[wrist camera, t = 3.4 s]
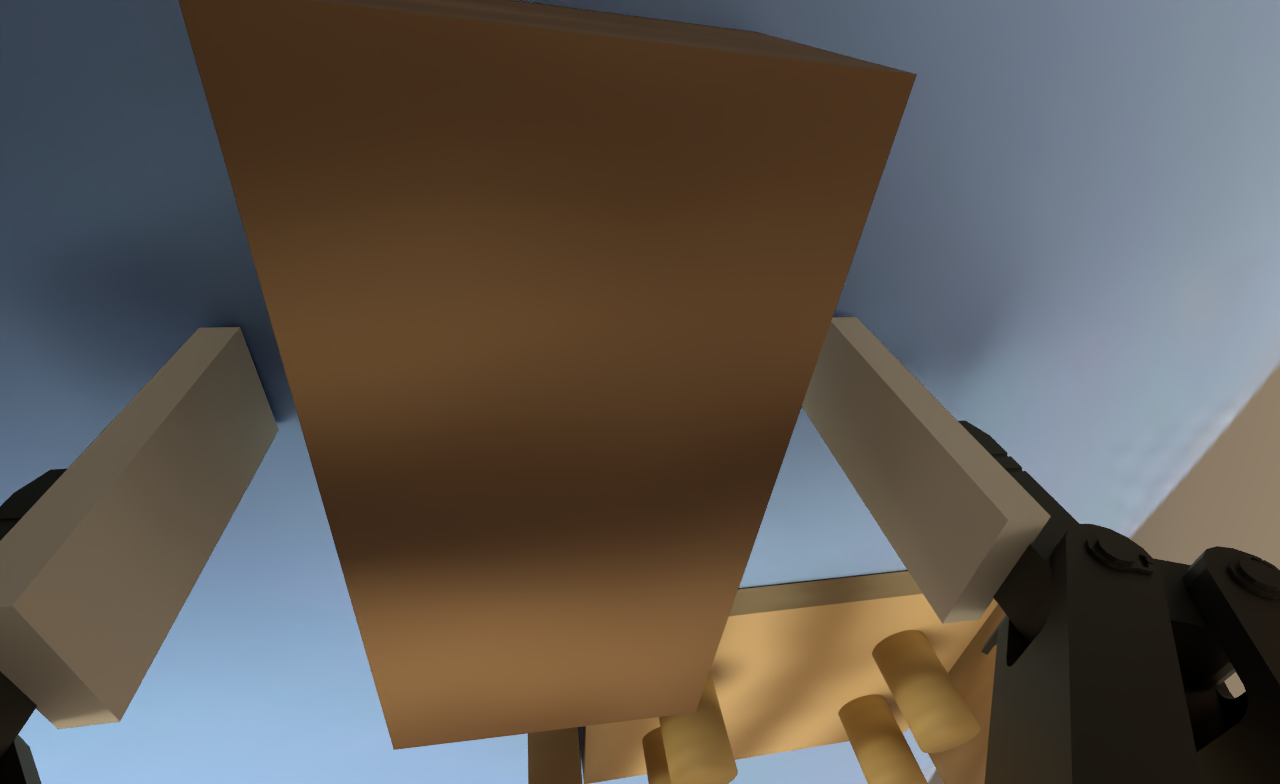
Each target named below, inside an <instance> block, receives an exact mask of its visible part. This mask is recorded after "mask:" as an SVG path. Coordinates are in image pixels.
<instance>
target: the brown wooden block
mask: <svg viewBox="0 0 1280 784" xmlns="http://www.w3.org/2000/svg"><path fill="white" fill-rule="evenodd" d="M178 1H179V4H180V8H181V11H182V15H183V18H184V22H185V25H186V28H187V32H188V35H189V39H190V42H191V46H192V49H193V53H194V56H195V60H196V63H197V67H198V70H199V74H200V77H201V81H202V84H203V88H204V91H205V95H206V98H207V101H208V105H209V108H210V112H211V115H212V119H213V122H214V126H215V129H216V133H217V136H218V140H219V143H220V147H221V150H222V154H223V157H224V161H225V164H226V168H227V171H228V175H229V178H230V181H231V185H232V188H233V192H234V195H235V199H236V202H237V206H238V209H239V213H240V216H241V220H242V223H243V227H244V230H245V234H246V237H247V241H248V244H249V248H250V251H251V254H252V258H253V261H254V265H255V268H256V272H257V275H258V279H259V282H260V286H261V289H262V293H263V296H264V300H265V303H266V307H267V310H268V314H269V317H270V321H271V324H272V328H273V331H274V334H275V338H276V341H277V345H278V348H279V352H280V355H281V359H282V362H283V366H284V369H285V373H286V376H287V380H288V383H289V387H290V390H291V394H292V397H293V401H294V404H295V407H296V411H297V414H298V418H299V421H300V425H301V428H302V432H303V435H304V439H305V442H306V446H307V449H308V453H309V456H310V460H311V463H312V467H313V470H314V474H315V477H316V481H317V484H318V487H319V491H320V494H321V498H322V501H323V505H324V508H325V512H326V515H327V519H328V522H329V526H330V529H331V533H332V536H333V540H334V543H335V547H336V550H337V554H338V557H339V560H340V564H341V567H342V571H343V574H344V578H345V581H346V585H347V588H348V592H349V595H350V599H351V602H352V606H353V609H354V613H355V616H356V620H357V623H358V627H359V630H360V634H361V637H362V640H363V644H364V647H365V651H366V654H367V658H368V661H369V665H370V668H371V672H372V675H373V679H374V682H375V686H376V689H377V693H378V696H379V700H380V703H381V707H382V710H383V713H384V717H385V720H386V724H387V727H388V731H389V734H390V738H391V741H392V745H393V748H394V750H395V749H403V748H412V747H420V746H428V745H436V744H444V743H452V742H460V741H469V740H477V739H485V738H493V737H501V736H509V735H517V734H526V733H534V732H542V731H550V730H558V729H566V728H574V727H583V726H591V725H599V724H607V723H615V722H623V721H632V720H640V719H648V718H656V717H664V716H672V715H680V714H689V713H695V712H696V710H697V707H698V704H699V701H700V698H701V695H702V692H703V689H704V686H705V684H706V681H707V678H708V675H709V672H710V669H711V666H712V663H713V660H714V658H715V655H716V652H717V649H718V646H719V643H720V640H721V637H722V635H723V632H724V629H725V626H726V623H727V620H728V617H729V614H730V611H731V609H732V606H733V603H734V600H735V597H736V594H737V591H738V588H739V586H740V583H741V580H742V577H743V574H744V571H745V568H746V565H747V562H748V560H749V557H750V554H751V551H752V548H753V545H754V542H755V539H756V537H757V534H758V531H759V528H760V525H761V522H762V519H763V516H764V513H765V511H766V508H767V505H768V502H769V499H770V496H771V493H772V490H773V487H774V485H775V482H776V479H777V476H778V473H779V470H780V467H781V464H782V462H783V459H784V456H785V453H786V450H787V447H788V444H789V441H790V438H791V436H792V433H793V430H794V427H795V424H796V421H797V418H798V415H799V413H800V410H801V407H802V404H803V401H804V398H805V395H806V392H807V389H808V387H809V384H810V381H811V378H812V375H813V372H814V369H815V366H816V364H817V361H818V358H819V355H820V352H821V349H822V346H823V343H824V340H825V338H826V335H827V332H828V329H829V326H830V323H831V320H832V317H833V314H834V312H835V309H836V306H837V303H838V300H839V297H840V294H841V291H842V289H843V286H844V283H845V280H846V277H847V274H848V271H849V268H850V265H851V263H852V260H853V257H854V254H855V251H856V248H857V245H858V242H859V240H860V237H861V234H862V231H863V228H864V225H865V222H866V219H867V216H868V214H869V211H870V208H871V205H872V202H873V199H874V196H875V193H876V191H877V188H878V185H879V182H880V179H881V176H882V173H883V170H884V167H885V165H886V162H887V159H888V156H889V153H890V150H891V147H892V144H893V141H894V139H895V136H896V133H897V130H898V127H899V124H900V121H901V118H902V116H903V113H904V110H905V107H906V104H907V101H908V98H909V95H910V92H911V90H912V87H913V84H914V81H915V78H916V74H913V73H909V72H905V71H901V70H897V69H894V68H890V67H886V66H882V65H879V64H875V63H871V62H867V61H864V60H860V59H856V58H852V57H848V56H845V55H841V54H837V53H833V52H830V51H826V50H822V49H818V48H815V47H811V46H807V45H803V44H799V43H796V42H792V41H788V40H784V39H781V38H777V37H773V36H769V35H766V34H762V33H758V32H752V31H744V30H737V29H729V28H721V27H714V26H706V25H698V24H691V23H683V22H675V21H668V20H660V19H652V18H645V17H637V16H630V15H622V14H614V13H607V12H599V11H591V10H584V9H576V8H568V7H561V6H553V5H545V4H538V3H530V2H522V1H515V0H178Z"/></svg>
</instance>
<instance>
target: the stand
mask: <svg viewBox="0 0 1280 784" xmlns="http://www.w3.org/2000/svg"><path fill="white" fill-rule="evenodd" d="M1005 615H1006V614H1005V612H1004V611H1003V610H1002V608H1001V607H1000V606H999V604H998V603H997V602H996V600H995V599H993V601H992V602H991V604H990V605H989V606H988V608H987V609H986V611H985V612H984V614H983V615H982V616H981V618H980V619H979V620H970V621H962V622H954V623H945V624H942V622H941V621H940V619H939V618H938V616H937V615H936V613H935V612H934V610H933V609H932V607H931V605H930V604H929V602H928V601H927V599H926V598H925V596H924V595H923V593H922V592H921V590H920V588H919V587H918V585H917V584H916V582H915V581H914V579H913V578H912V576H911V575H910V573H909V571H903V572H894V573H885V574H876V575H866V576H857V577H848V578H839V579H829V580H820V581H811V582H802V583H793V584H783V585H774V586H765V587H756V588H746V589H738V591H737V594H736V597H735V600H734V603H733V606H732V609H731V611H730V614H729V617H728V620H727V623H726V626H725V629H724V632H723V635H722V637H721V640H720V643H719V646H718V649H717V652H716V655H715V658H714V660H713V663H712V666H711V669H710V672H709V675H708V678H707V681H706V684H705V686H704V689H703V692H702V695H701V698H700V701H699V704H698V707H697V710H696V712H695V713H689V714H680V715H672V716H664V717H656V718H648V719H640V720H632V721H623V722H615V723H607V724H599V725H591V726H583V745H582V765H583V777H584V784H589V783H595V782H601V781H607V780H613V779H619V778H626V777H632V776H638V775H644V774H647V775H648V781H649V784H728V783H729V782H731V781H732V780H733V779H734V778H735V777H736V776H737V773H738V771H737V767H736V763H735V760H736V759H742V758H748V757H754V756H760V755H766V754H773V753H779V752H785V751H791V750H797V749H803V748H809V747H815V746H822V745H828V744H834V743H840V742H846V741H850V743H851V745H852V748H853V750H854V752H855V754H856V757H857V759H858V761H859V764H860V766H861V768H862V771H863V773H864V775H865V778H866V780H867V782H868V784H928V783H927V781H926V779H925V777H924V775H923V773H922V771H921V769H920V767H919V765H918V763H917V761H916V759H915V757H914V755H913V753H912V751H911V749H910V747H909V745H908V744H907V742H906V740H905V738H904V736H903V734H902V732H906V730H907V729H908V727H909V728H910V730H911V732H912V734H913V736H914V738H915V740H916V741H917V743H918V745H919V747H920V749H921V751H923V752H925V753H928V754H929V756H930V758H931V760H932V761H933V763H934V765H935V767H936V769H937V771H938V773H939V775H940V777H941V779H942V781H943V782H944V784H984V783H985V772H986V761H987V750H988V738H989V727H990V716H991V705H992V694H993V682H994V671H995V660H996V649H997V645H996V646H994V647H993V648H992V650H991V651H990V652H989V654H988V655H986V654H984V653H982V652H981V650H982V648H983V646H984V644H985V642H986V641H987V639H988V638H989V637H990V635H991V634H992V633H993V631H994V630H995V629H996V627H997V626H998V624H999V623H1000V622H1001V620H1002V619H1003V618H1004V616H1005ZM528 778H529V784H582V775H581V762H580V749H579V736H578V727H574V728H566V729H558V730H550V731H542V732H534V733H528Z"/></svg>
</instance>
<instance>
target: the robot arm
mask: <svg viewBox="0 0 1280 784" xmlns="http://www.w3.org/2000/svg"><path fill="white" fill-rule="evenodd" d="M802 408H803V409H804V411H805V412H806V414H807V415H808V417H809V418H810V420H811V421H812V423H813V425H814V426H815V428H816V429H817V431H818V432H819V434H820V435H821V437H822V438H823V440H824V442H825V443H826V445H827V446H828V448H829V449H830V451H831V452H832V454H833V455H834V457H835V459H836V460H837V462H838V463H839V465H840V466H841V468H842V469H843V471H844V472H845V474H846V476H847V477H848V479H849V480H850V482H851V483H852V485H853V486H854V488H855V489H856V491H857V493H858V494H859V496H860V497H861V499H862V500H863V502H864V503H865V505H866V507H867V508H868V510H869V511H870V513H871V514H872V516H873V517H874V519H875V520H876V522H877V524H878V525H879V527H880V528H881V530H882V531H883V533H884V534H885V536H886V537H887V539H888V541H889V542H890V544H891V545H892V547H893V548H894V550H895V551H896V553H897V554H898V556H899V558H900V559H901V561H902V562H903V564H904V565H905V567H906V568H907V570H908V571H909V573H910V575H911V576H912V578H913V579H914V581H915V582H916V584H917V585H918V587H919V588H920V590H921V592H922V593H923V595H924V596H925V598H926V599H927V601H928V602H929V604H930V605H931V607H932V609H933V610H934V612H935V613H936V615H937V616H938V618H939V619H940V621H941V622H942V624H945V623H954V622H962V621H970V620H979V619H980V618H981V616H982V615H983V614H984V612H985V611H986V609H987V608H988V606H989V605H990V604H991V602H992V601H993V599H995V600H996V602H997V603H998V604H999V606H1000V607H1001V608H1002V610H1003V611H1004V612H1005V614H1006V615H1005V616H1004V618H1003V619H1002V620H1001V622H1000V623H999V624H998V626H997V627H996V629H995V630H994V631H993V633H992V634H991V635H990V637H989V638H988V639H987V641H986V642H985V644H984V646H983V648H982V650H981V652H982V653H984V654H986V655H988V654H989V652H990V651H991V650H992V648H993V647H994V646H996V645H997V649H996V660H995V671H994V682H993V694H992V705H991V716H990V727H989V738H988V750H987V761H986V772H985V783H984V784H1280V570H1278V569H1277V568H1276V567H1275V566H1274V565H1272V564H1270V563H1269V562H1267V561H1265V560H1264V561H1263V560H1262V559H1261V558H1258V557H1256V556H1254V555H1251V554H1248V553H1245V552H1242V551H1239V550H1236V549H1233V548H1226V547H1213V548H1210V549H1206V550H1205V551H1204V552H1203V553H1202V555H1200V556H1199V558H1198V559H1197V560H1196V561H1195V562H1194V563H1193V564H1192V565H1186V564H1180V563H1175V562H1169V561H1164V560H1158V559H1153V558H1152V557H1151V556H1150V555H1149V554H1148V553H1147V552H1146V551H1145V550H1144V549H1143V548H1142V547H1140V546H1139V545H1137V544H1136V543H1135V542H1133V541H1132V540H1130V539H1129V538H1127V537H1125V536H1123V535H1121V534H1119V533H1117V532H1115V531H1113V530H1111V529H1108V528H1104V527H1101V526H1097V525H1093V524H1079V523H1078V522H1077V521H1076V520H1075V519H1074V518H1073V517H1072V516H1071V515H1070V514H1069V513H1068V512H1067V511H1066V510H1065V509H1064V508H1063V507H1062V506H1061V505H1060V504H1059V503H1058V502H1057V501H1056V500H1055V499H1054V498H1053V497H1052V496H1051V495H1050V494H1048V493H1047V492H1046V491H1045V490H1044V489H1043V488H1042V487H1041V486H1040V485H1039V484H1038V483H1037V482H1036V481H1035V480H1034V479H1033V478H1032V477H1031V476H1030V475H1029V474H1028V473H1027V472H1026V471H1022V467H1021V466H1020V465H1019V464H1018V463H1017V462H1016V461H1015V460H1014V459H1013V458H1012V457H1008V456H1007V452H1006V451H1005V450H1004V449H1003V448H1002V447H1001V446H1000V445H999V444H998V443H997V442H996V441H995V440H994V439H993V438H992V437H991V436H990V435H988V434H986V433H985V432H983V431H981V430H980V429H978V428H977V427H975V426H973V425H972V424H970V423H968V422H967V421H957V420H956V419H955V418H954V417H953V416H952V415H951V414H950V413H949V412H948V411H947V410H946V408H945V407H944V406H943V405H942V404H941V403H940V402H939V401H938V400H937V399H936V398H935V397H934V396H933V395H932V394H931V393H930V392H929V391H928V390H927V389H926V388H925V387H924V386H923V385H922V384H921V383H920V382H919V381H918V380H917V379H916V378H915V377H914V376H913V375H912V374H911V373H910V372H909V371H908V370H907V369H906V368H905V367H904V366H903V365H902V363H901V362H900V361H899V360H898V359H897V358H896V357H895V356H894V355H893V354H892V353H891V352H890V351H889V350H888V349H887V348H886V347H885V346H884V345H883V344H882V343H881V342H880V341H879V340H878V339H877V338H876V337H875V336H874V335H873V334H872V333H871V332H870V331H869V330H868V329H867V328H866V327H865V326H864V325H863V324H862V323H861V322H860V321H859V320H858V318H857V317H832V320H831V323H830V326H829V329H828V332H827V335H826V338H825V340H824V343H823V346H822V349H821V352H820V355H819V358H818V361H817V364H816V366H815V369H814V372H813V375H812V378H811V381H810V384H809V387H808V389H807V392H806V395H805V398H804V401H803V405H802ZM278 430H279V429H278V427H277V424H276V421H275V419H274V416H273V413H272V411H271V408H270V405H269V403H268V400H267V397H266V395H265V392H264V389H263V387H262V384H261V381H260V379H259V376H258V373H257V371H256V368H255V365H254V363H253V360H252V358H251V355H250V352H249V350H248V347H247V344H246V342H245V339H244V336H243V334H242V331H241V328H240V327H214V328H198V329H197V330H196V332H195V333H194V334H193V335H192V336H191V337H190V338H189V339H188V340H187V341H186V342H185V343H184V344H183V346H182V347H181V348H180V349H179V350H178V351H177V352H176V353H175V354H174V355H173V356H172V357H171V358H170V359H169V361H168V362H167V363H166V364H165V365H164V366H163V367H162V368H161V369H160V370H159V371H158V372H157V373H156V374H155V376H154V377H153V378H152V379H151V380H150V381H149V382H148V383H147V384H146V385H145V386H144V387H143V388H142V389H141V391H140V392H139V393H138V394H137V395H136V396H135V397H134V398H133V399H132V400H131V401H130V402H129V403H128V405H127V406H126V407H125V408H124V409H123V410H122V411H121V412H120V413H119V414H118V415H117V416H116V417H115V418H114V420H113V421H112V422H111V423H110V424H109V425H108V426H107V427H106V428H105V429H104V430H103V431H102V432H101V433H100V435H99V436H98V437H97V438H96V439H95V440H94V441H93V442H92V443H91V444H90V445H89V446H88V447H87V448H86V450H85V451H84V452H83V453H82V454H81V455H80V456H79V457H78V458H77V459H76V460H75V461H74V462H73V464H72V465H71V466H70V467H69V468H68V469H54V470H50V471H48V472H46V473H45V474H43V475H42V476H40V477H38V478H37V479H35V480H34V481H32V482H31V483H29V484H27V485H26V486H24V487H23V488H21V489H19V490H18V491H16V492H15V493H13V494H12V495H11V496H10V497H9V498H8V499H7V500H6V501H5V502H4V503H3V504H2V505H1V506H0V784H41V781H40V778H39V775H38V772H37V769H36V765H35V762H34V759H33V756H32V753H31V750H30V747H29V746H28V745H27V744H26V743H25V741H24V740H23V739H22V738H21V737H20V736H19V735H18V734H19V732H20V731H21V729H22V728H23V726H24V725H25V723H26V722H27V720H28V719H29V717H30V716H31V714H32V713H33V711H34V710H35V708H36V709H37V710H38V711H39V712H40V713H41V714H42V715H44V716H45V717H46V718H47V719H48V720H49V721H50V722H51V723H52V724H53V725H54V726H55V727H56V728H57V729H62V728H71V727H79V726H88V725H96V724H104V723H113V722H120V720H121V719H122V717H123V715H124V713H125V711H126V709H127V708H128V706H129V704H130V702H131V700H132V698H133V697H134V695H135V693H136V691H137V689H138V687H139V686H140V684H141V682H142V680H143V678H144V676H145V675H146V673H147V671H148V669H149V667H150V665H151V664H152V662H153V660H154V658H155V656H156V654H157V653H158V651H159V649H160V647H161V645H162V643H163V642H164V640H165V638H166V636H167V634H168V632H169V631H170V629H171V627H172V625H173V623H174V621H175V620H176V618H177V616H178V614H179V612H180V610H181V608H182V607H183V605H184V603H185V601H186V599H187V597H188V596H189V594H190V592H191V590H192V588H193V586H194V585H195V583H196V581H197V579H198V577H199V575H200V574H201V572H202V570H203V568H204V566H205V564H206V563H207V561H208V559H209V557H210V555H211V553H212V552H213V550H214V548H215V546H216V544H217V542H218V541H219V539H220V537H221V535H222V533H223V531H224V530H225V528H226V526H227V524H228V522H229V520H230V519H231V517H232V515H233V513H234V511H235V509H236V508H237V506H238V504H239V502H240V500H241V498H242V497H243V495H244V493H245V491H246V489H247V487H248V486H249V484H250V482H251V480H252V478H253V476H254V475H255V473H256V471H257V469H258V467H259V465H260V464H261V462H262V460H263V458H264V456H265V454H266V452H267V451H268V449H269V447H270V445H271V443H272V441H273V440H274V438H275V436H276V434H277V432H278ZM1235 672H1236V673H1237V674H1238V676H1239V678H1240V680H1241V681H1242V683H1243V685H1244V687H1245V690H1246V692H1244V693H1243V694H1242V695H1240V696H1239V697H1237V698H1234V697H1233V696H1232V694H1231V693H1230V692H1229V690H1228V688H1227V686H1226V684H1225V682H1224V681H1225V680H1226V679H1227V678H1229V677H1230V676H1231V675H1232V674H1234V673H1235Z"/></svg>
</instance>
